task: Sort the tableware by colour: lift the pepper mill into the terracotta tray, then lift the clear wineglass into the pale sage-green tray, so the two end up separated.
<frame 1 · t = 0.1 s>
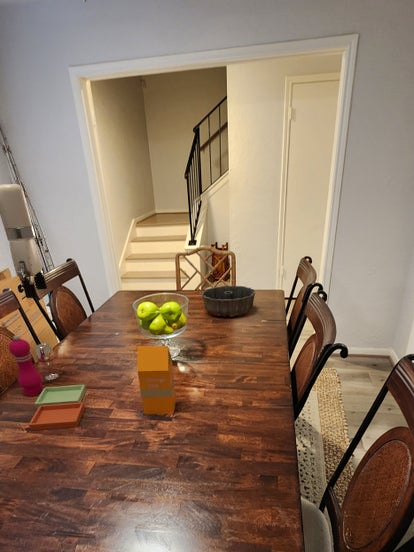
hand: (37, 293, 115), 30 cm above the table, tool pointing down, fingers open, 9 cm apart
wineglass: (51, 377, 133), on the table
sage tray: (62, 399, 119), on the table
terracotta tray: (58, 418, 109), on the table
bundt pan: (228, 312, 186), on the table
orange juice: (160, 407, 112), on the table
pepper mill: (34, 391, 124), on the table
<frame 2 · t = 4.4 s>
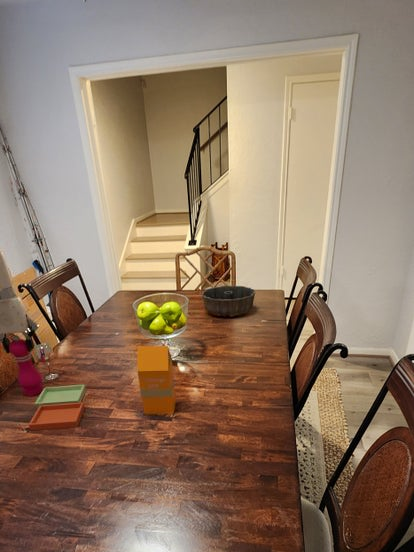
hand: (20, 350, 116), 15 cm above the table, tool pointing down, fingers closed on pepper mill, 6 cm apart
pepper mill: (34, 391, 124), on the table, touching gripper
everything else where it was.
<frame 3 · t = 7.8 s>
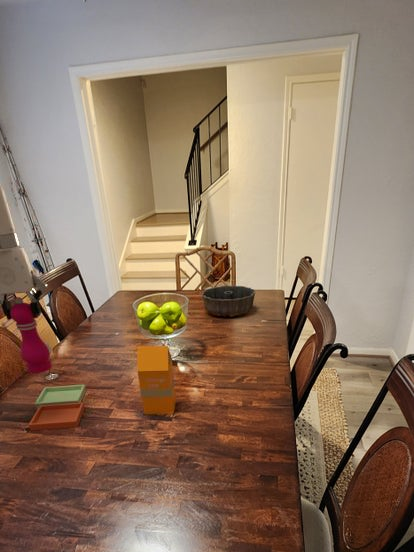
hand: (24, 316, 96), 30 cm above the table, tool pointing down, fingers closed on pepper mill, 6 cm apart
pepper mill: (40, 369, 104), point 15 cm above the table, touching gripper
everything else where it was.
when the fingers open (15 cm above the table, at t = 11.8 s): pepper mill stays where it is, resting on terracotta tray.
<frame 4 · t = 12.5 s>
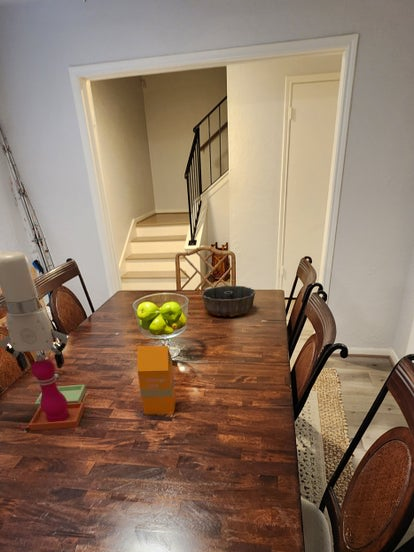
hand: (42, 367, 101), 17 cm above the table, tool pointing down, fingers open, 9 cm apart
pepper mill: (58, 417, 109), resting on terracotta tray
everything else where it was.
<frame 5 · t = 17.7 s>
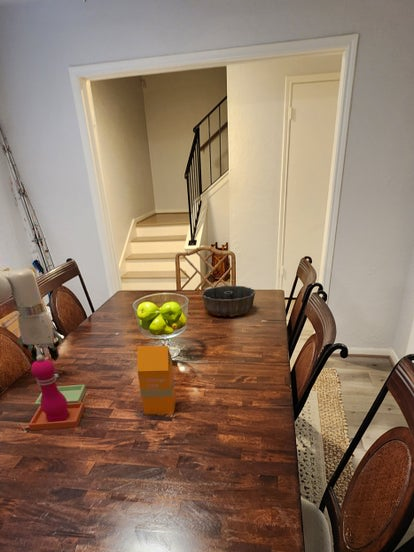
hand: (46, 359, 129), 7 cm above the table, tool pointing down, fingers closed on wineglass, 5 cm apart
wineglass: (51, 377, 133), on the table, touching gripper
everything else where it was.
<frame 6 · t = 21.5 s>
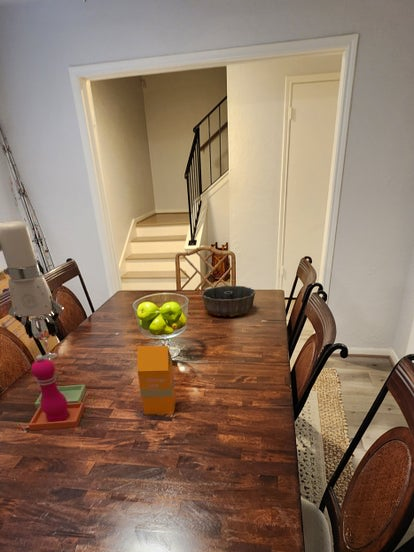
hand: (43, 335, 109), 21 cm above the table, tool pointing down, fingers closed on wineglass, 5 cm apart
wineglass: (49, 357, 113), point 14 cm above the table, touching gripper
everything else where it was.
when the fingers open (7 cm above the table, at t = 25.1 s): wineglass stays where it is, resting on sage tray.
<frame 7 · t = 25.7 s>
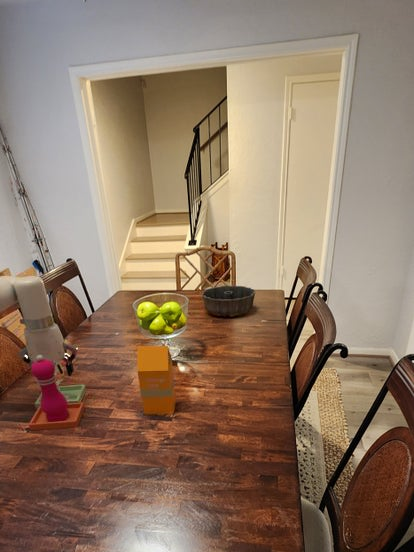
hand: (55, 375, 115), 9 cm above the table, tool pointing down, fingers open, 9 cm apart
wineglass: (61, 398, 119), resting on sage tray
everything else where it was.
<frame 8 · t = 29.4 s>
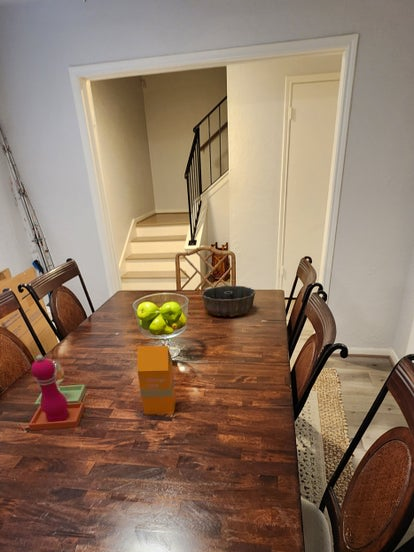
nothing on the table moved.
at the end: pepper mill inside the target area in the terracotta tray (0.1 cm from its centre), point 0.3 cm above the terracotta tray's base; wineglass inside the target area in the sage tray (0.1 cm from its centre), point 0.3 cm above the sage tray's base; pepper mill tilted 0° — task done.
